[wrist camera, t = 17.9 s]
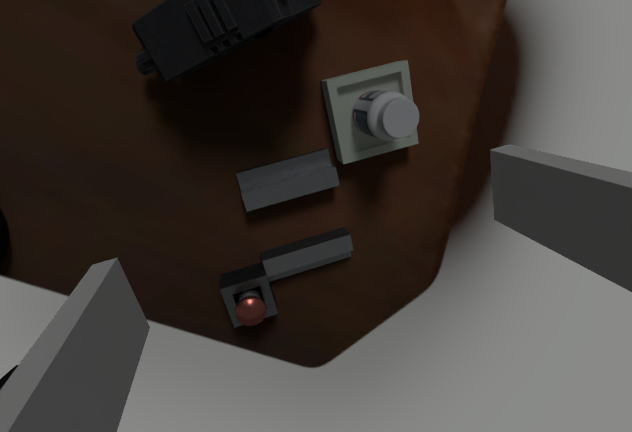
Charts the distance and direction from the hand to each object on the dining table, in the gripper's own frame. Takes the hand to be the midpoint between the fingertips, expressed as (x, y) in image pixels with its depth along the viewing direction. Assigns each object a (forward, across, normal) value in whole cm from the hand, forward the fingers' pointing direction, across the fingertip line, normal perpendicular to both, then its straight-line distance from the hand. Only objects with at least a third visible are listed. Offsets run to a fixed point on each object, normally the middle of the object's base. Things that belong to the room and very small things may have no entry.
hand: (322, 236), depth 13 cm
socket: (+37, +2, -13) cm, 39 cm away
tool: (+37, 0, +11) cm, 39 cm away
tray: (+37, +14, -2) cm, 39 cm away
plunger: (+36, -7, -21) cm, 42 cm away
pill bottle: (+35, +14, -2) cm, 38 cm away
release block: (+37, -7, -21) cm, 43 cm away
